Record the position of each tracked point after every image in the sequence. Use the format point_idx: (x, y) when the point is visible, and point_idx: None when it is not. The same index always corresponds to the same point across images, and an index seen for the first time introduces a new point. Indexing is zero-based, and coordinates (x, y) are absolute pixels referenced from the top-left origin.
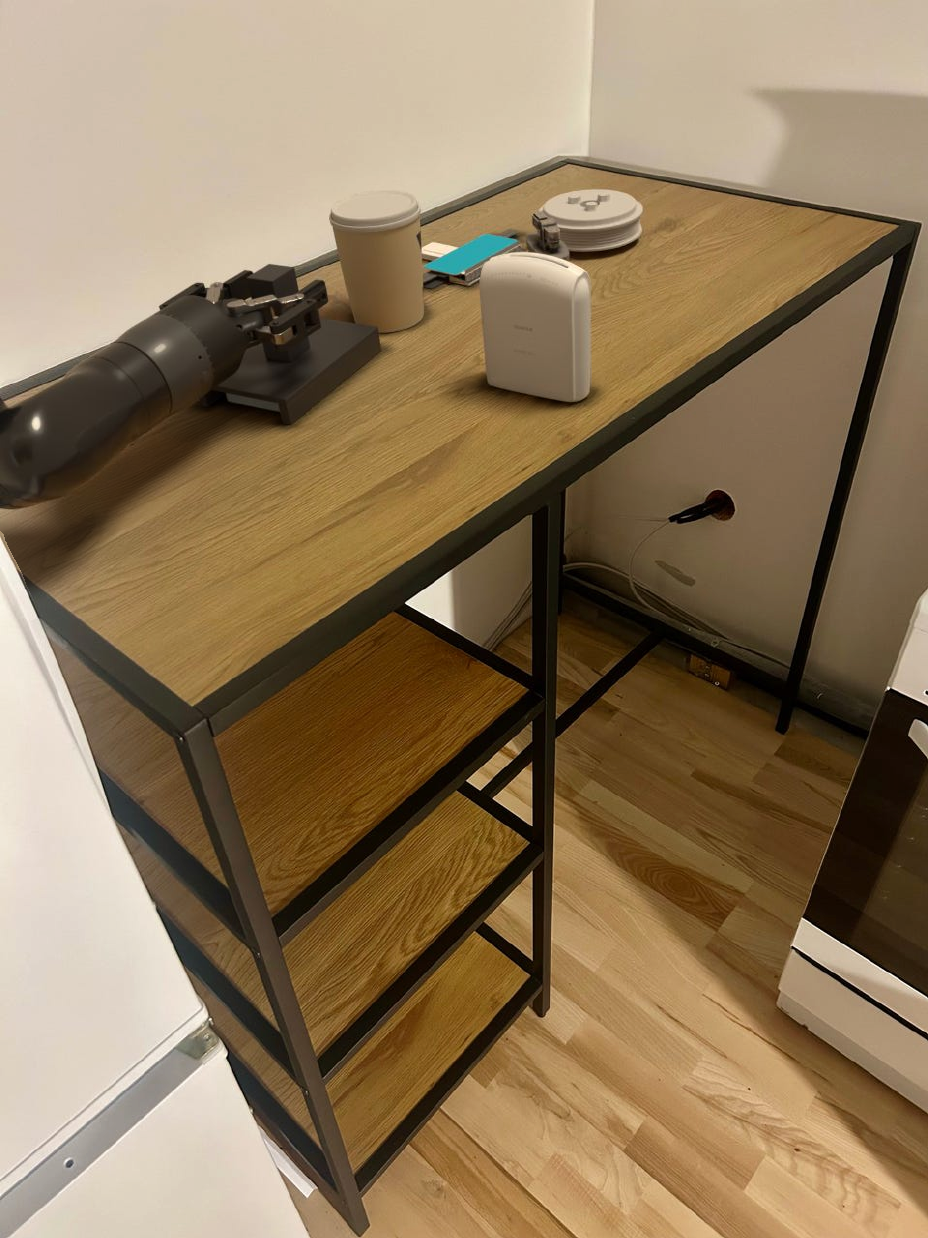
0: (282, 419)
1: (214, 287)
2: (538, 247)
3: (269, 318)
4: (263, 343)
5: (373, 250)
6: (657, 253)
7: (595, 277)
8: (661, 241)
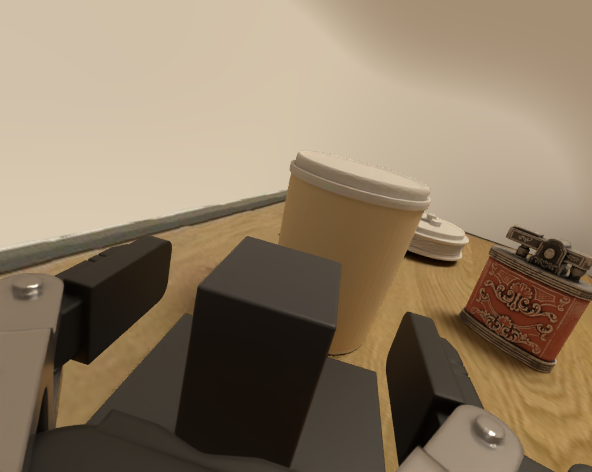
0: None
1: (10, 305)
2: (540, 269)
3: (241, 440)
4: None
5: (382, 238)
6: (481, 269)
7: (471, 288)
8: (467, 258)
